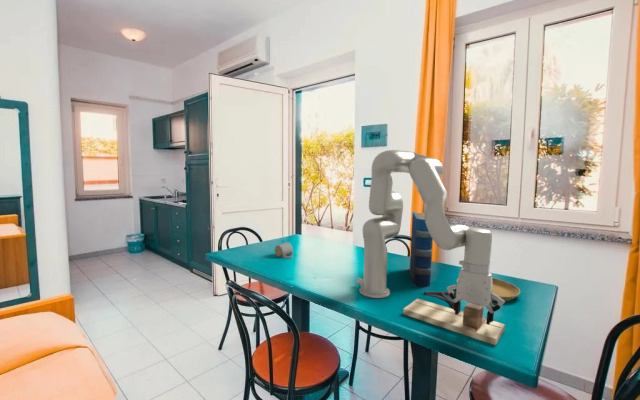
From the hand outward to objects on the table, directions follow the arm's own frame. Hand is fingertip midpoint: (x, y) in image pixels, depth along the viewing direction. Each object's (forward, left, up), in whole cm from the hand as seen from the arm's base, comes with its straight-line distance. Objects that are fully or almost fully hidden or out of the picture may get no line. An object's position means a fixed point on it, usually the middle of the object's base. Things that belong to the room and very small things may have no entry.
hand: (472, 318), depth 105 cm
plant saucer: (-5, +39, -5) cm, 40 cm away
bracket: (-14, +18, -5) cm, 23 cm away
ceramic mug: (-106, +16, -4) cm, 107 cm away
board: (-7, +1, -4) cm, 8 cm away
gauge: (0, +2, -2) cm, 2 cm away
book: (-33, +36, -4) cm, 49 cm away
